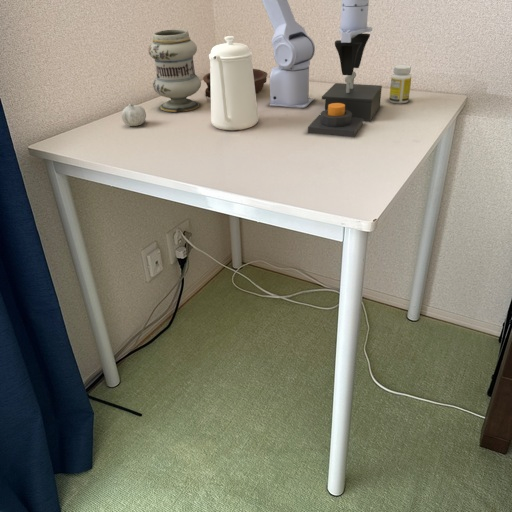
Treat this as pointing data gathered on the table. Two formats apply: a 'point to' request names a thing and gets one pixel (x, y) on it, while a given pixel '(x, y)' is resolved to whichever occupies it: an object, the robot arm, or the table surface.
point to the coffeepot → (232, 86)
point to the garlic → (133, 115)
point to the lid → (352, 91)
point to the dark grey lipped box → (360, 107)
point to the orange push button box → (335, 124)
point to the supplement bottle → (400, 84)
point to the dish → (258, 81)
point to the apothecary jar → (175, 69)
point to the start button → (336, 109)
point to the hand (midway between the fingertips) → (350, 71)
